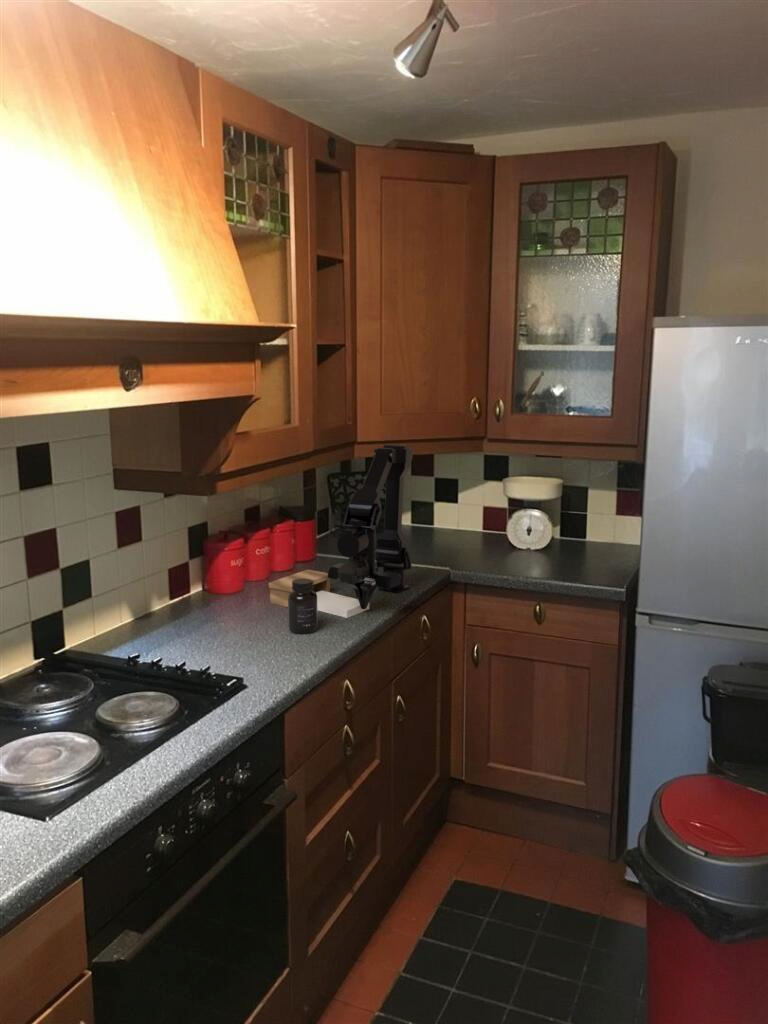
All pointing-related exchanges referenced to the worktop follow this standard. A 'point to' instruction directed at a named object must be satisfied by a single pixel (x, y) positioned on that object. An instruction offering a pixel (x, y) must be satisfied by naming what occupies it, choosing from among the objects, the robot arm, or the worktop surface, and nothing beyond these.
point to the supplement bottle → (302, 607)
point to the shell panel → (338, 604)
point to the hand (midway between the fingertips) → (363, 608)
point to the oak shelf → (284, 585)
